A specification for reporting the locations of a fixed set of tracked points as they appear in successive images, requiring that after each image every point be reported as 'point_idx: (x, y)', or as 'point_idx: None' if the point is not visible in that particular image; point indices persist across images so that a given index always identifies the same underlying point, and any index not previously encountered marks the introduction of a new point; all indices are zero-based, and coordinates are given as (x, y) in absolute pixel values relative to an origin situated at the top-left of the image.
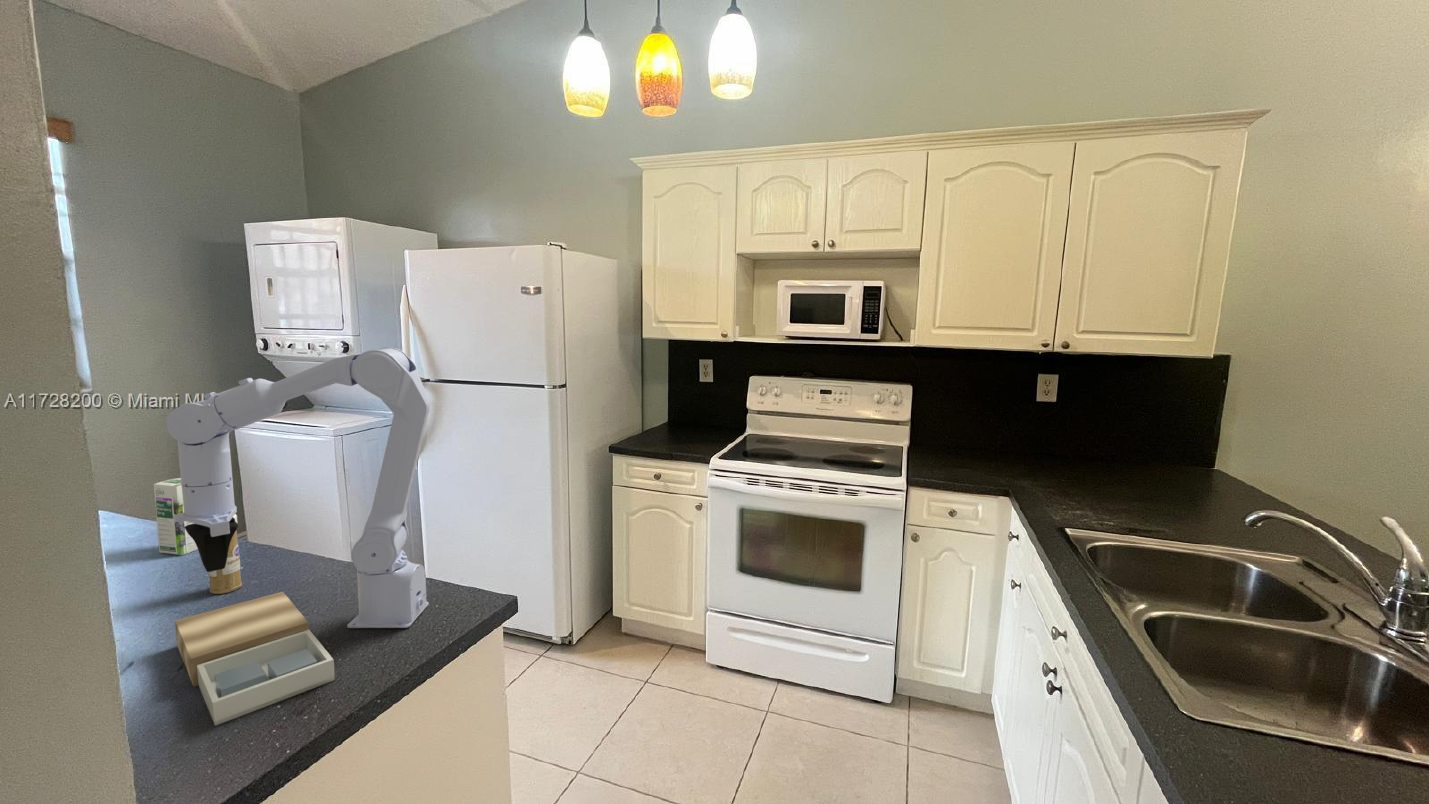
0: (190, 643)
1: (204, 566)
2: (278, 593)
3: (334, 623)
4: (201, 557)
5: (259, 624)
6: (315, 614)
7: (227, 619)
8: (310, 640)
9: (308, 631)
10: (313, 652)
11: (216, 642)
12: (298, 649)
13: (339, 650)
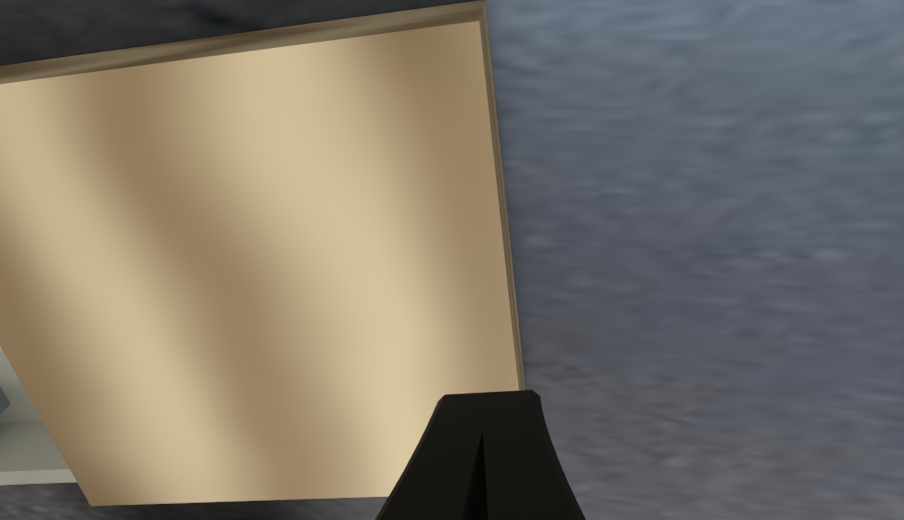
0: (59, 102)
1: (436, 429)
2: None
3: (318, 501)
4: (429, 514)
5: (157, 375)
6: None
7: (306, 270)
8: (17, 465)
9: None
10: (17, 437)
11: (19, 212)
12: None
13: None
